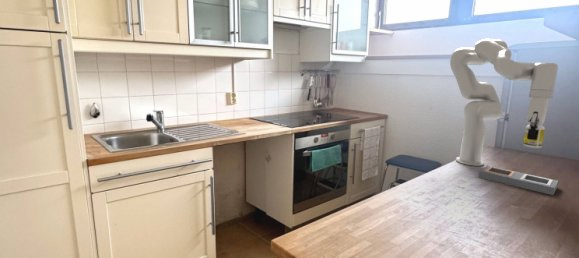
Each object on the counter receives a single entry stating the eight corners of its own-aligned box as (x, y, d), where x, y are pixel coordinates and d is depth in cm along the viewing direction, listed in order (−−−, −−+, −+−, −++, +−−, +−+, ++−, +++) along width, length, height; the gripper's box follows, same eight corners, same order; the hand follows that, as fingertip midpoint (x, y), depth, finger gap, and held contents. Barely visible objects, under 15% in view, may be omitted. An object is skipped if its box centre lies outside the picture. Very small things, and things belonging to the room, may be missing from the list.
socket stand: (486, 171, 150) (487, 164, 149) (556, 187, 132) (558, 180, 131) (478, 177, 142) (479, 170, 141) (553, 195, 124) (554, 187, 123)
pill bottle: (535, 145, 134) (540, 119, 132) (545, 148, 128) (550, 121, 126) (519, 144, 134) (523, 118, 132) (528, 147, 128) (533, 120, 126)
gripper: (533, 93, 136) (527, 134, 139) (524, 94, 124) (517, 139, 127) (556, 94, 130) (548, 137, 134) (549, 95, 119) (541, 142, 122)
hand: (533, 137), depth 130 cm, fingers closed on pill bottle, 6 cm apart
